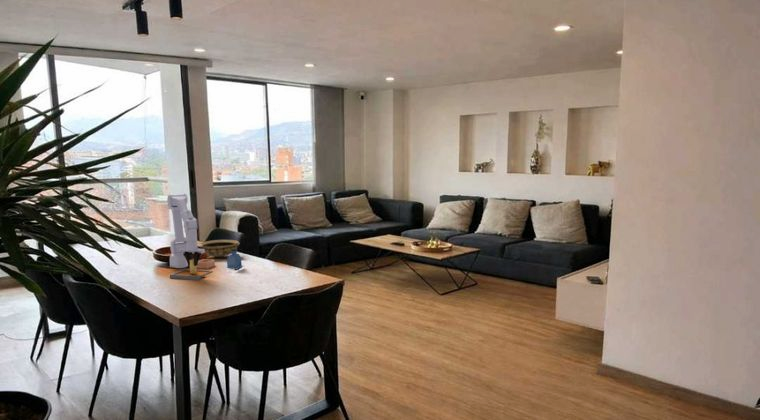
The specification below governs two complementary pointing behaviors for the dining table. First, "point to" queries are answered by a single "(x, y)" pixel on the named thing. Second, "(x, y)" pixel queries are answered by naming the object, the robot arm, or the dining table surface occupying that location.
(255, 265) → the dining table surface
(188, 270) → the tray
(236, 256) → the perfume bottle
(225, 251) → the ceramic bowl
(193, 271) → the dowel
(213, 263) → the peach hollow square block
